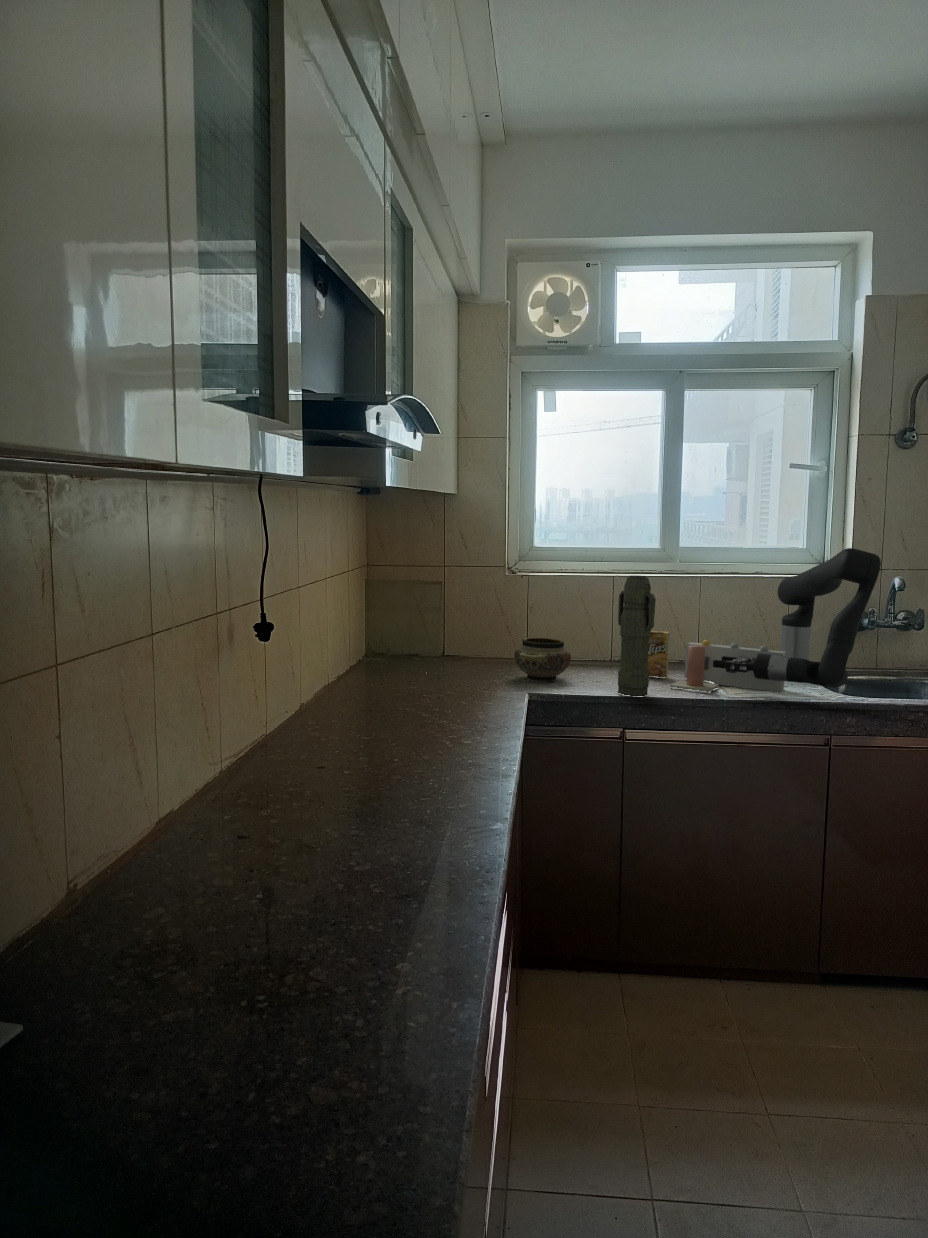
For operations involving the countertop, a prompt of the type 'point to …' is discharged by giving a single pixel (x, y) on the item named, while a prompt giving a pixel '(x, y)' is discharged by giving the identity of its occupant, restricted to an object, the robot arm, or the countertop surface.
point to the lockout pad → (705, 687)
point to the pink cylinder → (695, 665)
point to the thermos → (635, 635)
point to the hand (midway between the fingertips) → (717, 661)
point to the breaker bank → (732, 677)
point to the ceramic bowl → (542, 658)
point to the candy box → (658, 653)
